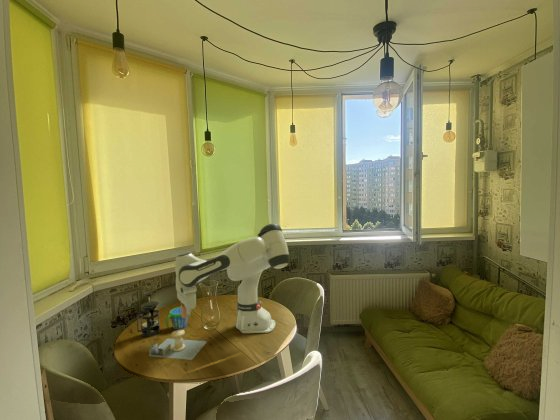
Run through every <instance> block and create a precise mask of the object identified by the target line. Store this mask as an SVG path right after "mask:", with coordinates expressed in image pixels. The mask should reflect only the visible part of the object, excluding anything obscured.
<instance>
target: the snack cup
mask: <svg viewBox="0 0 560 420" xmlns="http://www.w3.org/2000/svg"><path fill="white" fill-rule="evenodd" d="M168 313H169V314H168V315H167V316H166V319H165V326H166V327H167V328H169V327H170V325H169V319H170V321H171V325H172V328H173V331H176V330H184V329H186V328H187V327H188V321H189V317H187V318H183V317H182V316H181V306H178V307H174V308H172V309H170V311H169V312H168ZM193 316H194V313H193V310H192V309H191V317H190V318H193Z"/></svg>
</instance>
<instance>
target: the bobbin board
mask: <svg viewBox="0 0 560 420" xmlns="http://www.w3.org/2000/svg"><path fill="white" fill-rule="evenodd" d="M185 333H186V332H185V330H184V329H179V330H173V331H172V332H171V337H172V338H168V337H167V338H166V339H165V340H164V341H163V342H162V343H161V344H159V345H158V349H164V348H165V347H166V346H167V345H168V344H171V350H170V351H169V352H168V353H167V354H166V355H165V356H159V355H149V354H148V355H147V356H148V357H154V358H155V357H156V358H165V359H166V358H167V359H168V358H170V359H176V360H178V359H179V360H188V361H192V360H193V359H194V358H195V357H196V356H197V354H199V352H200V351H201V350H202V349H203V347H204V346H205V345H206V344H207V343H208V341H205V340H193V339H184V338H183V336H184V335H185Z"/></svg>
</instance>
